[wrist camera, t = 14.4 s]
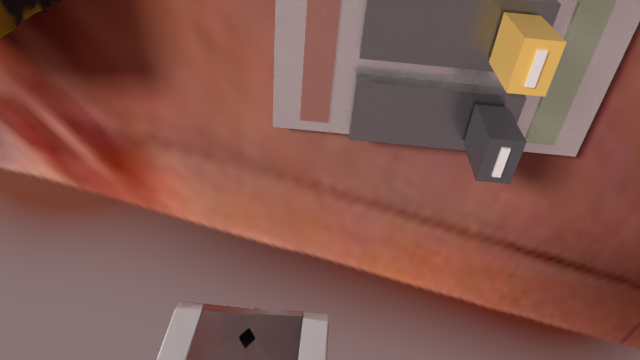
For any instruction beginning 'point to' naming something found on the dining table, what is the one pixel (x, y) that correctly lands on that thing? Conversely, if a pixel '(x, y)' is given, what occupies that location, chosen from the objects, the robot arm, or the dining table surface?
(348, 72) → the panel
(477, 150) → the breaker
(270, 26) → the dining table surface
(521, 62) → the breaker
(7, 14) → the candle
